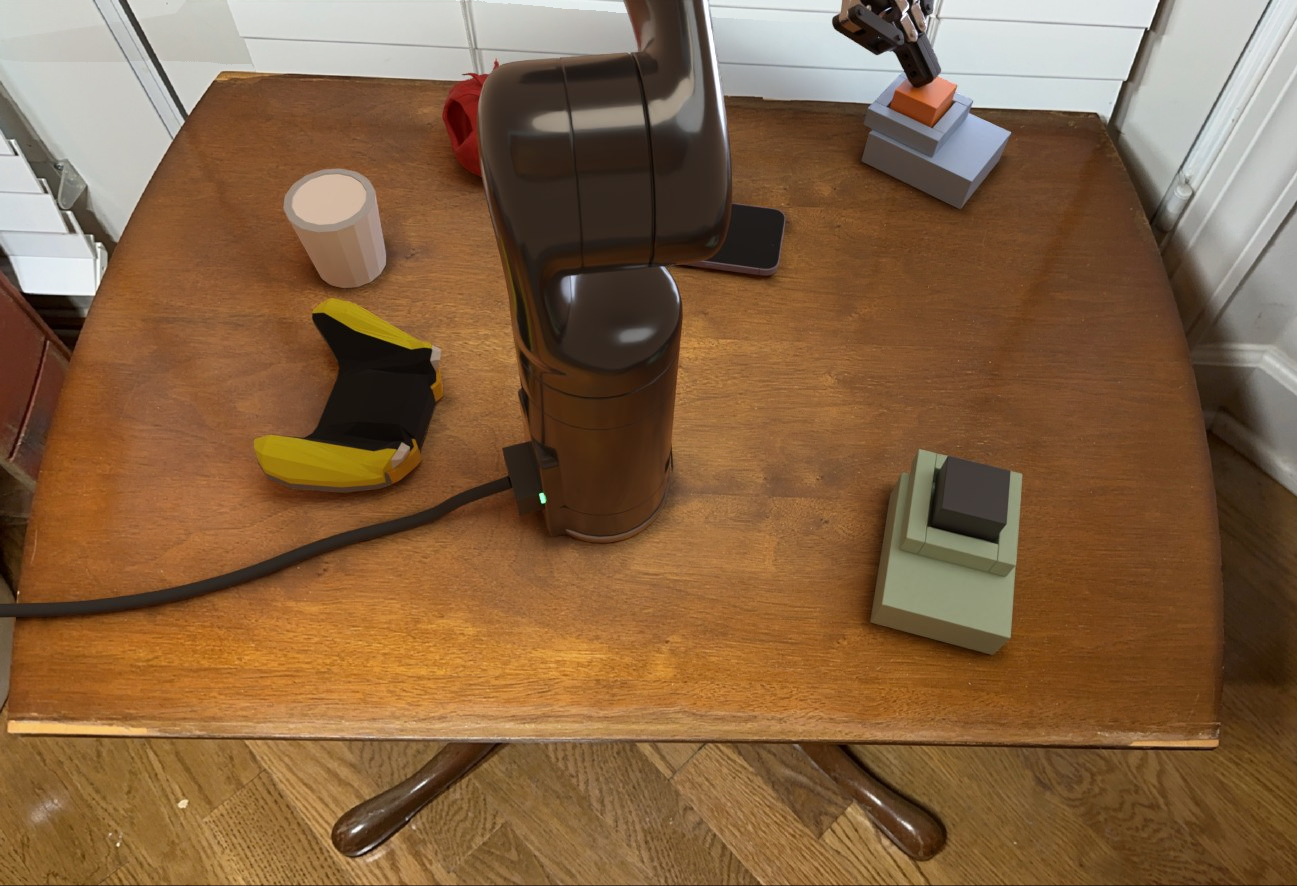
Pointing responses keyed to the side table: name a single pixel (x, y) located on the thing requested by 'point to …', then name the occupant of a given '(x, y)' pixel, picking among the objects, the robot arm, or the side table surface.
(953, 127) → the blue-grey socket block
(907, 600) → the green stepped block
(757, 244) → the smartphone
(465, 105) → the pomegranate
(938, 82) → the orange key
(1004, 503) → the charcoal key
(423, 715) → the side table surface
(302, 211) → the pale pink cylinder
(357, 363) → the gaming controller
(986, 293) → the side table surface
